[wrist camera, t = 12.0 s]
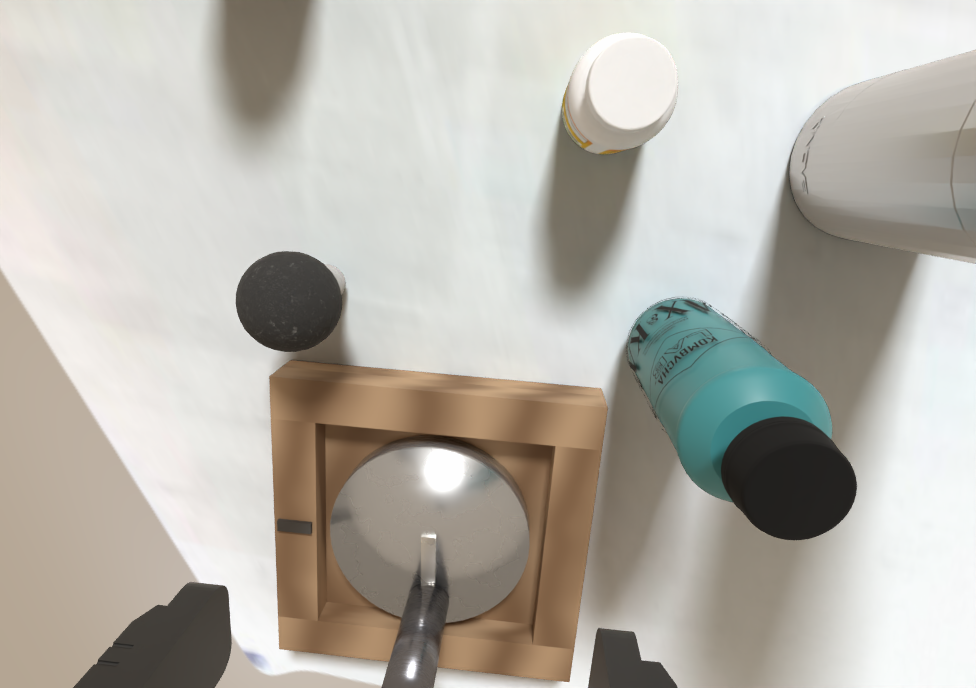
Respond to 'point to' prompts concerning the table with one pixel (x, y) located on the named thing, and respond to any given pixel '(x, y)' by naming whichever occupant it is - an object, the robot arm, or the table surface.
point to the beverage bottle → (741, 420)
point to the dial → (429, 542)
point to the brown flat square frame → (454, 414)
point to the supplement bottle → (620, 93)
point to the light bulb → (290, 300)
